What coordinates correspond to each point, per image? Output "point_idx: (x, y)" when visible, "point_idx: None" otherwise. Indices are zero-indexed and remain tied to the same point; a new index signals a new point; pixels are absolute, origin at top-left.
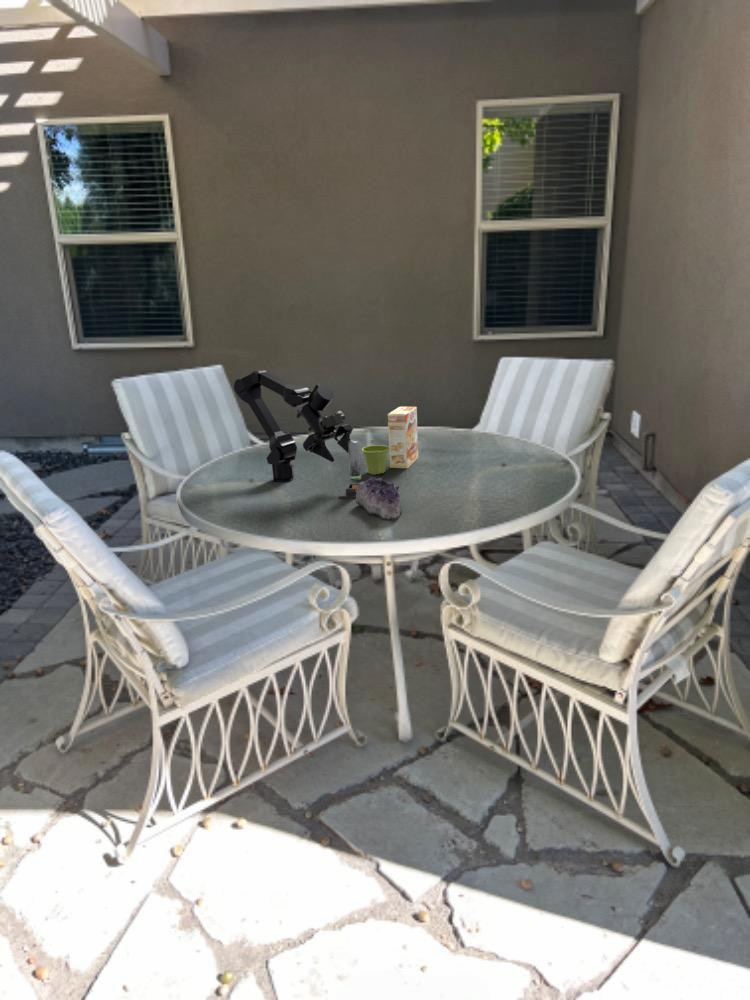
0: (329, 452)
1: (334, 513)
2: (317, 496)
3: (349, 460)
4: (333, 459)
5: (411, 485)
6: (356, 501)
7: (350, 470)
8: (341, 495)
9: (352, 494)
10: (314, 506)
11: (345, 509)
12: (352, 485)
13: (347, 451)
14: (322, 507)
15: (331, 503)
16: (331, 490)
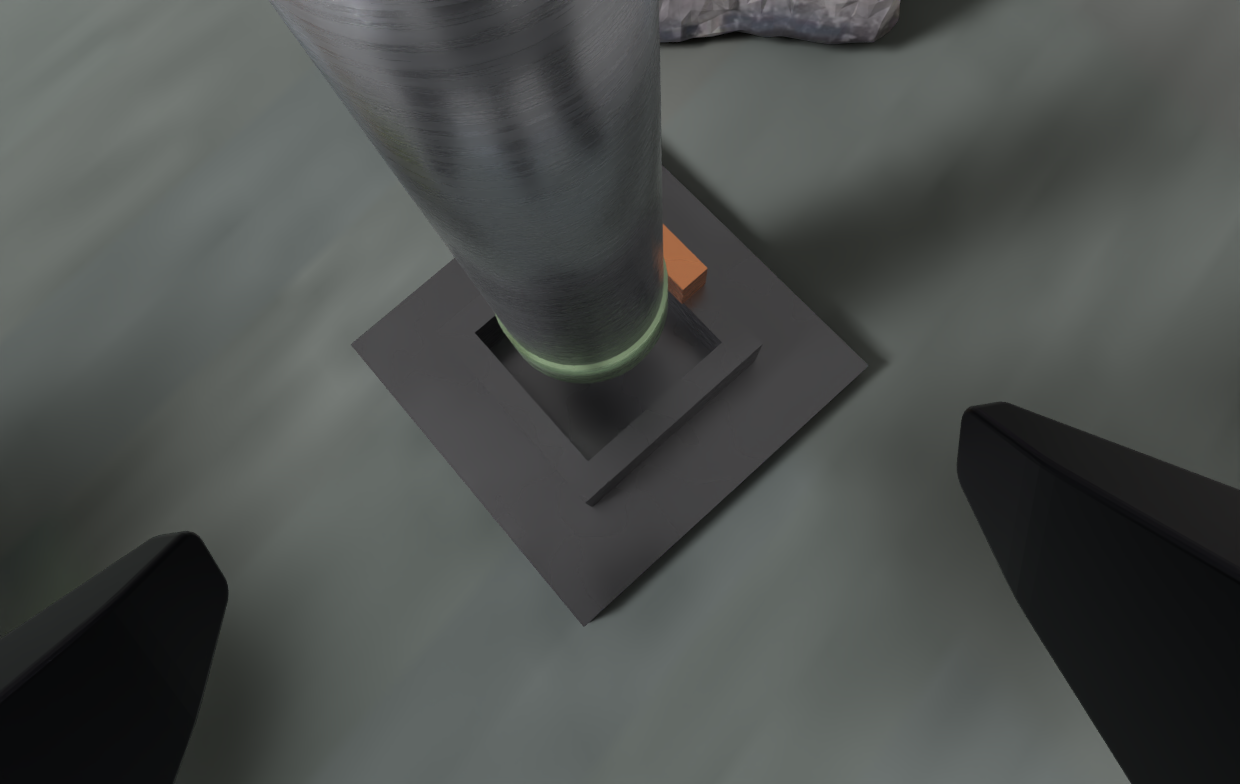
0: (1203, 528)
1: (1172, 42)
2: (993, 648)
3: (655, 171)
4: (1005, 407)
5: (80, 139)
6: (898, 9)
7: (661, 255)
8: (827, 357)
9: (717, 289)
10: (1225, 364)
11: (1019, 56)
12: (691, 278)
13: (159, 760)
14: (1170, 270)
15: (1018, 302)
16: (718, 706)
